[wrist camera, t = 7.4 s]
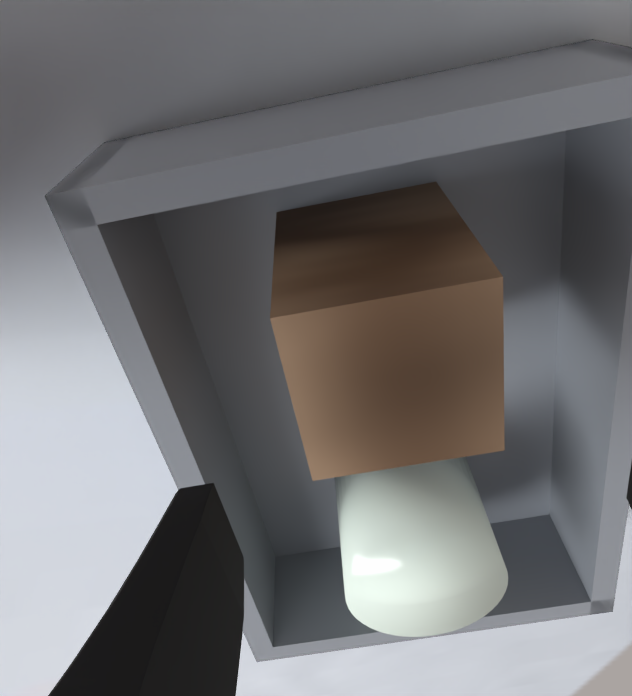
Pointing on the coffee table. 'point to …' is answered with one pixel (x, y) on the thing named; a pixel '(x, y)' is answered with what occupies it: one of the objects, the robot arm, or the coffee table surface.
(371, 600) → the pale green cylinder
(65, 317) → the coffee table surface
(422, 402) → the walnut block
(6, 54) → the coffee table surface
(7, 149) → the coffee table surface
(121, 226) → the tote
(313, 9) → the coffee table surface
